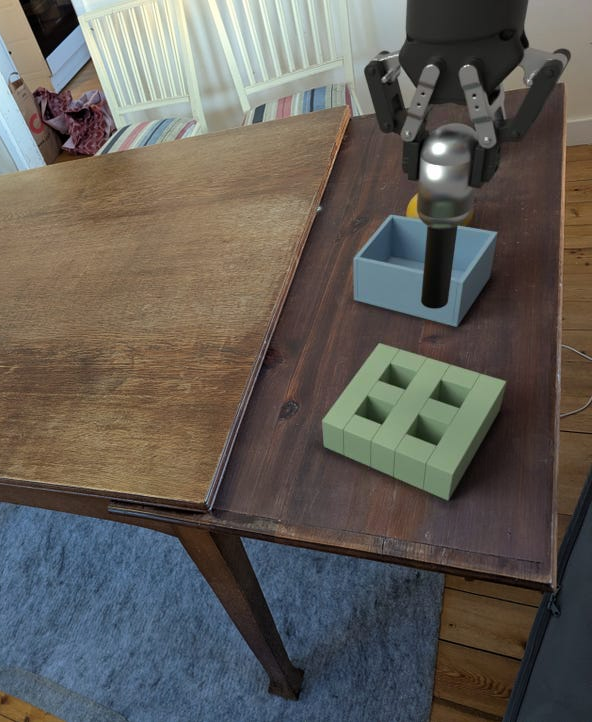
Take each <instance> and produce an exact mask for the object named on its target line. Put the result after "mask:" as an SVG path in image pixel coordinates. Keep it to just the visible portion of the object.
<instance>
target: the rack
mask: <svg viewBox="0 0 592 722" xmlns="http://www.w3.org/2000/svg"><path fill="white" fill-rule="evenodd" d="M506 385H507V381H506V380H503V379H500V378H498V377H494V376H490V375H486V374H484V373H480V372H477V371H473V370H471V369H467V368H464V367H460V366H457V365H453V364H450V363H447V362H444V361H440V360H437V359H434V358H431V357H427V356H424V355H420V354H417V353H413V352H411V351H407V350H404V349H400V348H397V347H394V346H391V345H387V344H384V343H380V342H379V343H378V344H377V345H376V346H375V348H374V349H373V351H372V352H371V353H370V355H369V356H368V357H367V358H366V360H365V362H364V363H363V364H362V366H361V367H360V368H359V370H358V371H357V372H356V374H355V375H354V377H353V378H352V379H351V381H350V382H349V383H348V385H347V386H346V387H345V388H344V390H343V391H342V393H341V394H340V396H339V397H338V398H337V400H336V401H335V403H334V404H333V405H332V406H331V408H330V410H328V412H327V413H326V414H325V416H324V417H323V419H322V420H321V424H322V427H321V428H322V440H323V441H322V442H323V447H324V448H327V449H328V450H330V451H333V452H334V453H338V454H340V455H342V456H345V457H347V458H349V459H350V460H353V461H356V462H358V463H360V464H363V465H365V466H367V467H370V468H372V469H375V470H376V471H379V472H381V473H383V474H386V475H388V476H390V477H393V478H395V479H397V480H399V481H401V482H404V483H406V484H407V485H408V484H409V485H411V486H413V487H416V488H418V489H420V490H423V491H425V492H426V493H429V494H431V495H434V496H436V497H439V498H441V499H443V500H446V501H450V500H451V497H452V496H453V494H454V492H455V490H456V489H457V487H458V485H459V483H460V481H461V480H462V478H463V476H464V474H465V472H466V470H467V469H468V467H469V466H470V464H471V462H472V460H473V459H474V456H475V454H476V453H477V451H478V449H479V447H480V446H481V444H482V442H483V441H484V439H485V437H486V435H487V434H488V432H489V430H490V428H491V427H492V425H493V423H494V421H495V419H496V418H497V416H498V414H499V413H500V410H501V407H502V402H503V398H504V394H505V389H506Z"/></svg>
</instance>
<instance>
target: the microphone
mask: <svg viewBox="0 0 592 722" xmlns="http://www.w3.org/2000/svg"><path fill="white" fill-rule="evenodd" d="M478 144H479V141H478V137H477V133H476V132H475V131H474V130H473V129H472V128H471V127H469V126H467V125H464V124H459V123H452V124H447V123H446V124H444V125H441V126H439V127H438V128H436V129H434V130H433V131H432V132H431V133H429V136H428V137H427V139H426V140H425V142H424V143H423V146H422V149H421V154H420V167H419V180H418V181H417V182H418V183H417V184H418V185H417V193H418V195H417V213H418V216H419V218H420V219H421V221H422V222H423V223H424V224H425V225H427V238H426V249H425V261H424V272H423V284H422V296H421V303H422V304H423V305H424V306H425V307H427V308H431V309H438V308H442V307H444V306H445V305H446V304H447V303H448V298H449V290H450V282H451V274H452V266H453V258H454V250H455V242H456V234H457V226H458V225H460V224H461V223H462V222H464V221H465V220H466V219H467V217H468V216H469V215H470V213H471V211H472V208H473V206H474V204H475V197H476V189H477V188H472V187H471V178H472V171H473V163H474V156H475V149H476V147H477V145H478Z"/></svg>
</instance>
